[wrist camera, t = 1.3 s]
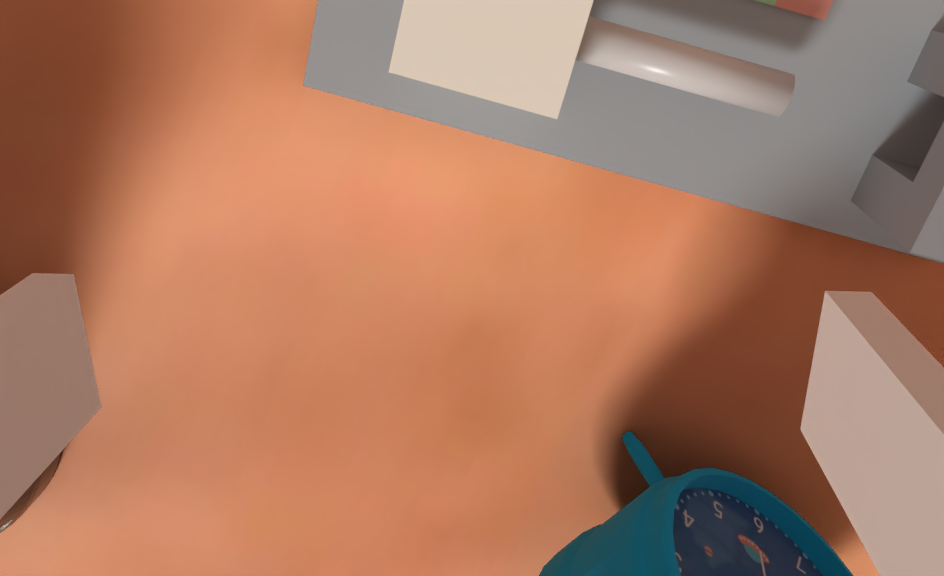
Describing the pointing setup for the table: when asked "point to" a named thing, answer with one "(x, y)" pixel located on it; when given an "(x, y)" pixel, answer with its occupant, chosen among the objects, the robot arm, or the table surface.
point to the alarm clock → (698, 531)
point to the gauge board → (719, 108)
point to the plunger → (562, 55)
